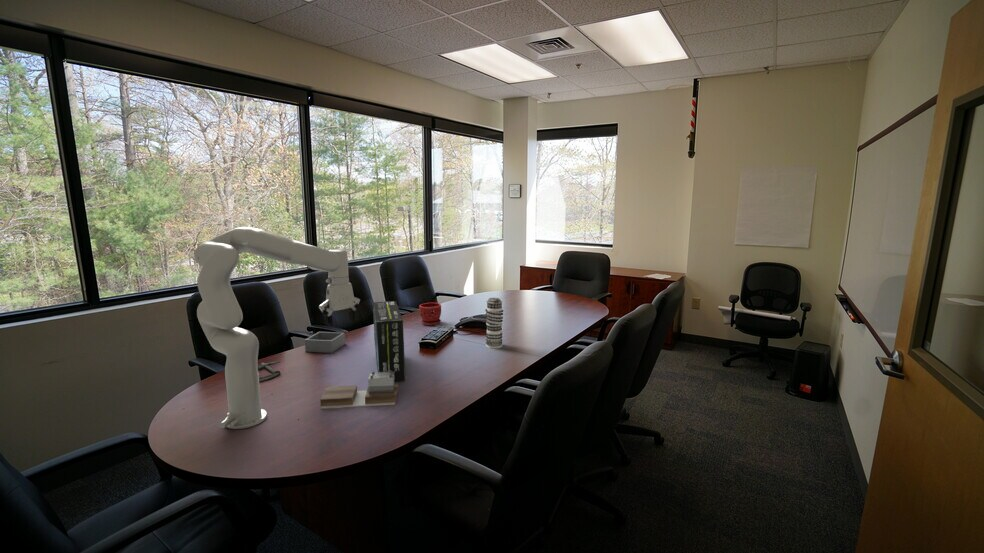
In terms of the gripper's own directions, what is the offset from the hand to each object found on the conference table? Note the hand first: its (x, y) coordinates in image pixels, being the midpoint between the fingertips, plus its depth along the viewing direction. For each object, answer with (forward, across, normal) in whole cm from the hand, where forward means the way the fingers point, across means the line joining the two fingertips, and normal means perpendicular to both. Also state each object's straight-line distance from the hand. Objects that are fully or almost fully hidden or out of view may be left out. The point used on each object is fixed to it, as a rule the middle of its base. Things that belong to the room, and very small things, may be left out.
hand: (341, 322), depth 177 cm
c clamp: (+26, -18, +34) cm, 46 cm away
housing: (+22, +2, -24) cm, 33 cm away
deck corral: (+25, +16, +46) cm, 55 cm away
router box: (+26, +22, 0) cm, 34 cm away
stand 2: (+25, +2, -24) cm, 35 cm away
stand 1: (+25, -10, -14) cm, 30 cm away
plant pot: (+26, +82, +42) cm, 96 cm away
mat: (+25, -4, -19) cm, 32 cm away
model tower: (+26, +77, -14) cm, 82 cm away
